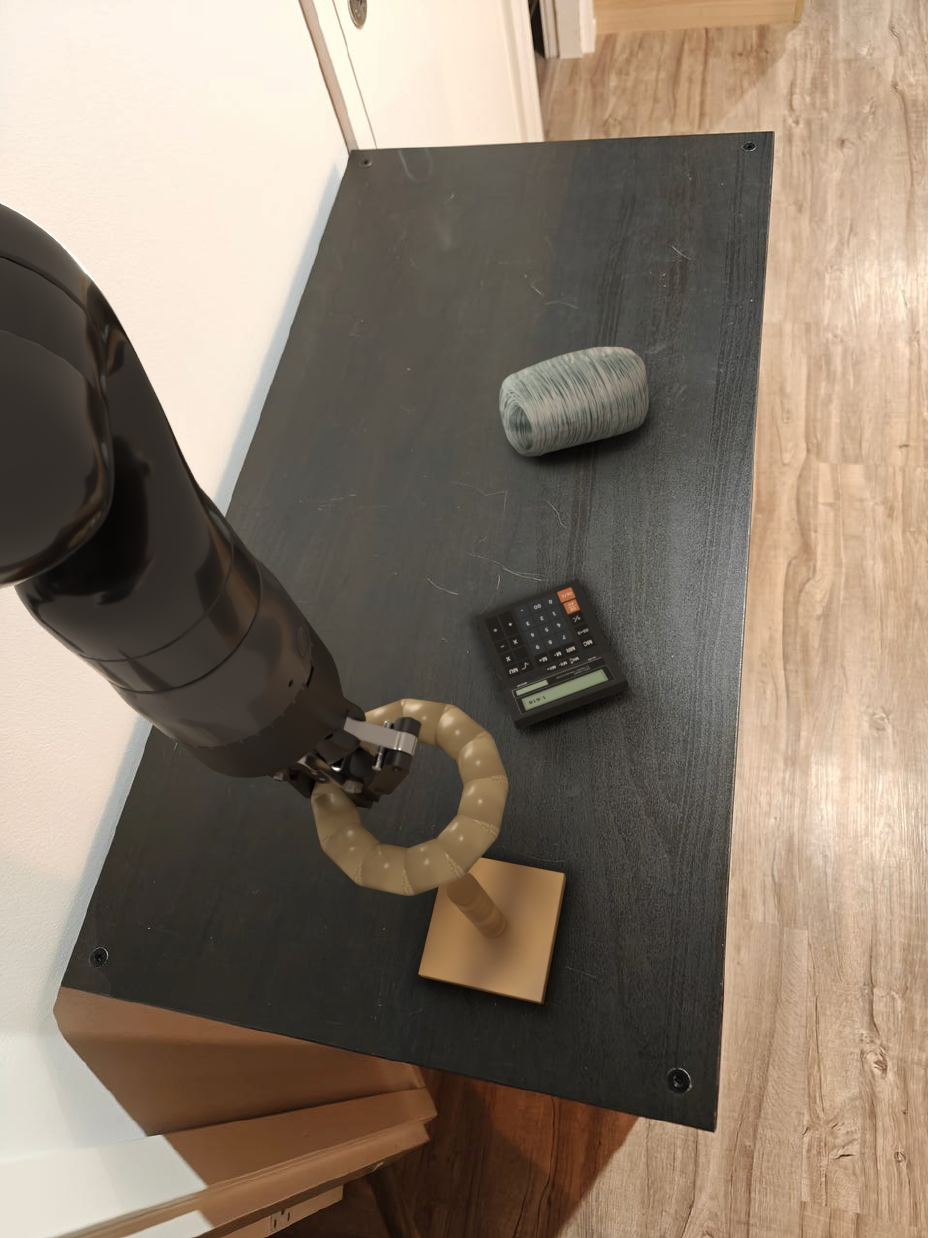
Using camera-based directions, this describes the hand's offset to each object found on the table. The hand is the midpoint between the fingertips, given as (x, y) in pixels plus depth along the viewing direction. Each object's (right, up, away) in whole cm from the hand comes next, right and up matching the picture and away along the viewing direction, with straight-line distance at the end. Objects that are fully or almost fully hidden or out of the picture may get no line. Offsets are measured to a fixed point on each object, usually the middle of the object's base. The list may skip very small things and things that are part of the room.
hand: (344, 786), depth 54 cm
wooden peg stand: (+9, -13, +16) cm, 22 cm away
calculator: (+14, +6, +25) cm, 29 cm away
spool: (+18, +27, +36) cm, 48 cm away
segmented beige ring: (+4, 0, -2) cm, 4 cm away
